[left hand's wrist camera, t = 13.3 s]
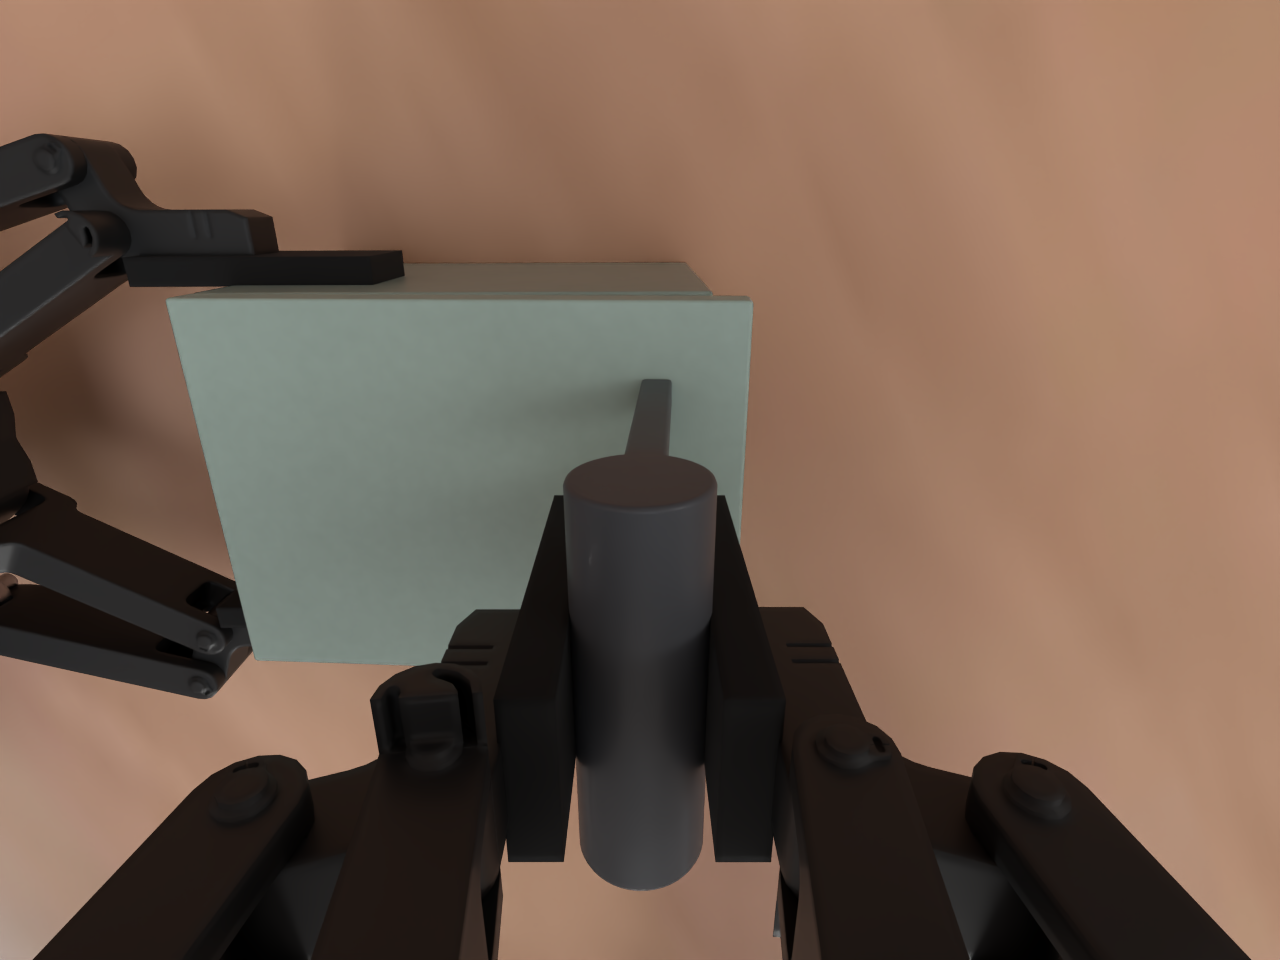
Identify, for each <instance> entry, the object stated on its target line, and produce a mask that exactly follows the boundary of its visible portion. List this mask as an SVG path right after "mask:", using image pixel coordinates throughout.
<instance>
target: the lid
mask: <svg viewBox="0 0 1280 960" xmlns="http://www.w3.org/2000/svg"><path fill="white" fill-rule="evenodd" d="M166 305H167V309H168V313H169V317H170V321H171V325H172V329H173V333H174V337H175V341H176V345H177V349H178V353H179V357H180V361H181V365H182V369H183V373H184V377H185V381H186V385H187V389H188V393H189V397H190V401H191V405H192V409H193V413H194V417H195V421H196V425H197V429H198V433H199V437H200V441H201V445H202V449H203V453H204V457H205V461H206V465H207V469H208V473H209V477H210V481H211V485H212V489H213V493H214V497H215V501H216V505H217V509H218V513H219V517H220V521H221V525H222V529H223V533H224V537H225V541H226V545H227V549H228V553H229V557H230V561H231V565H232V569H233V573H234V577H235V581H236V585H237V589H238V593H239V597H240V601H241V605H242V609H243V613H244V617H245V621H246V625H247V629H248V633H249V637H250V641H251V645H252V649H253V653H254V657H255V659H256V660H262V661H292V662H321V663H351V664H380V665H410V666H420V665H425V664H431V663H441V660H442V658H443V656H444V653H445V651H446V649H448V644H449V642H450V640H451V637H452V635H453V633H454V631H455V628H456V626H457V625H458V624H459V623H461V622H462V621H463V620H464V619H465V618H466V617H468V616H469V615H470V614H471V613H472V612H473V611H474V610H476V609H520V608H521V605H522V601H523V598H524V595H525V591H526V588H527V585H528V581H529V578H530V575H531V571H532V568H533V565H534V561H535V558H536V555H537V551H538V548H539V545H540V541H541V538H542V535H543V531H544V528H545V525H546V521H547V518H548V515H549V511H550V508H551V505H552V501H553V498H554V495H563V497H564V518H565V539H566V560H567V581H568V602H569V614H570V635H571V657H572V679H573V701H574V723H575V745H576V770H577V791H578V812H579V833H580V845H581V850H582V853H583V855H584V858H585V859H586V861H587V863H588V864H589V866H590V867H591V868H592V869H593V871H594V872H595V873H596V874H597V875H598V876H600V877H601V878H602V879H604V880H605V881H607V882H609V883H610V884H612V885H615V886H617V887H620V888H624V889H628V890H635V891H648V890H655V889H659V888H663V887H665V886H668V885H670V884H672V883H674V882H676V881H678V880H679V879H680V878H682V877H683V876H684V875H685V874H686V873H687V872H688V871H689V870H690V869H691V868H692V866H693V865H694V864H695V862H696V860H697V859H698V857H699V854H700V852H701V849H702V844H703V824H704V800H705V776H706V775H705V766H704V754H705V731H706V707H707V684H708V661H709V637H710V618H711V615H712V606H713V582H714V558H715V533H716V509H717V495H725V497H726V501H727V504H728V507H729V511H730V514H731V517H732V521H733V524H734V527H735V531H736V534H737V537H738V541H739V544H740V534H741V516H742V498H743V481H744V463H745V445H746V427H747V409H748V391H749V374H750V356H751V338H752V320H753V302H752V300H751V299H750V297H748V296H659V295H390V294H188V295H182V296H176V297H170V298H168V299H166Z"/></svg>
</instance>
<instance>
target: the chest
mask: <svg viewBox="0 0 1280 960" xmlns="http://www.w3.org/2000/svg"><path fill="white" fill-rule="evenodd" d="M403 264H404V272H405V276H403V277H399V278H396V279H392V280H389V281H385V282H382V283H378V284H375V285H237V286H228V287H223V288H218V289H212V290H207V291H202V292H197V293H194V294H390V295H659V296H713V293H712V291H711V290H710V289H709V288H708V287H707V286H706V285H705V284H704V283H703V281H702V280H701V279H700V278H699V277H698V276H697V275H696V274H695V273H694V271H693V270H692V269H691V268H690V267H689V266H688V265H687V264H686V263H685V262H677V263H403Z"/></svg>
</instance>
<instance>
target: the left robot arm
mask: <svg viewBox="0 0 1280 960" xmlns="http://www.w3.org/2000/svg"><path fill="white" fill-rule="evenodd" d="M370 703H371V709H372V715H373V721H374V726H375V732H376V738H377V744H378V749H379V757H378V759H377V760H375V761H373V762H371V763H369V764H366V765H364V766H360V767H357V768H354V769H351V770H348V771H344V772H340V773H335V774H331V775H327V776H323V777H319V778H315V779H310V780H308V777H307V772H306V770H305V769H304V767H303V766H302V765H301V764H300V763H299V762H298V761H297V760H295V759H292V758H289V757H285V756H282V755H266V756H256V757H253V758H249V759H246V760H242V761H239V762H235V763H233V764H231V765H229V766H228V767H226V768H224V769H222V770H220V771H218V772H216V773H214V774H212V775H211V776H210V777H208V778H207V779H206V780H205V781H204V782H202V783H201V784H200V785H199V786H197V787H196V788H195V789H194V790H193V791H192V792H191V793H190V794H189V795H188V796H187V797H186V798H185V799H184V800H183V801H182V802H181V803H180V804H179V805H178V806H177V808H176V809H175V810H174V811H173V812H172V813H171V814H170V815H169V816H168V817H167V818H166V819H165V820H164V821H163V822H162V823H161V824H160V826H159V827H158V828H157V829H156V830H155V831H154V832H153V833H152V834H151V835H150V836H149V837H148V838H147V839H146V840H145V841H144V842H143V844H142V845H141V846H140V847H139V848H138V849H137V850H136V851H135V852H134V853H133V854H132V855H131V856H130V857H129V858H128V859H127V860H126V862H125V863H124V864H123V865H122V866H121V867H120V868H119V869H118V870H117V871H116V872H115V873H114V874H113V875H112V876H111V877H110V878H109V880H108V881H107V882H106V883H105V884H104V885H103V886H102V887H101V888H100V889H99V890H98V891H97V892H96V893H95V894H94V895H93V896H92V897H91V899H90V900H89V901H88V902H87V903H86V904H85V905H84V906H83V907H82V908H81V909H80V910H79V911H78V912H77V913H76V914H75V915H74V917H73V918H72V919H71V920H70V921H69V922H68V923H67V924H66V925H65V926H64V927H63V928H62V929H61V930H60V931H59V932H58V933H57V935H56V936H55V937H54V938H53V939H52V940H51V941H50V942H49V943H48V944H47V945H46V946H45V947H44V948H43V949H42V950H41V951H40V953H39V954H38V955H37V956H36V957H35V958H34V959H33V960H498V949H499V937H500V925H501V913H502V901H503V891H502V882H501V872H500V864H501V860H502V855H503V850H504V846H505V841H507V852H508V862H564V855H565V846H566V838H567V829H568V820H569V812H570V803H571V794H572V786H573V777H574V769H575V760H576V745H575V723H574V701H573V679H572V657H571V635H570V614H569V602H568V581H567V560H566V539H565V518H564V497H563V495H554V498H553V501H552V505H551V508H550V511H549V515H548V518H547V521H546V525H545V528H544V531H543V535H542V538H541V541H540V545H539V548H538V551H537V555H536V558H535V561H534V565H533V568H532V571H531V575H530V578H529V581H528V585H527V588H526V591H525V595H524V598H523V601H522V605H521V608H520V609H476V610H474V611H473V612H472V613H471V614H470V615H469V616H468V617H466V618H465V619H464V620H463V621H462V622H461V623H459V624H458V625H457V626H456V628H455V631H454V633H453V635H452V637H451V640H450V642H449V644H448V649H446V651H445V653H444V656H443V658H442V660H441V663H431V664H425V665H420V666H414V667H412V668H410V669H407V670H405V671H402V672H400V673H397V674H395V675H394V676H392V677H391V678H390V679H388V680H387V681H385V682H384V683H383V684H381V685H380V686H379V687H378V689H377V690H376V692H375V693H374V694H373V696H372V697H371V699H370ZM704 766H705V775H706V783H707V792H708V801H709V809H710V818H711V826H712V835H713V844H714V852H715V861H716V862H771V855H772V845H773V836H774V841H775V846H776V850H777V855H778V860H779V864H780V872H779V882H778V891H777V901H776V911H775V921H774V931H773V937H781V947H782V959H783V960H1251V959H1250V958H1249V957H1248V956H1247V955H1246V954H1245V953H1244V952H1243V951H1242V949H1241V948H1240V947H1239V946H1238V945H1237V944H1236V943H1235V942H1234V941H1233V940H1232V939H1231V938H1230V937H1229V936H1228V935H1227V934H1226V933H1225V932H1224V931H1223V930H1222V928H1221V927H1220V926H1219V925H1218V924H1217V923H1216V922H1215V921H1214V920H1213V919H1212V918H1211V917H1210V916H1209V915H1208V914H1207V913H1206V912H1205V911H1204V910H1203V908H1202V907H1201V906H1200V905H1199V904H1198V903H1197V902H1196V901H1195V900H1194V899H1193V898H1192V897H1191V896H1190V895H1189V894H1188V893H1187V892H1186V891H1185V890H1184V889H1183V887H1182V886H1181V885H1180V884H1179V883H1178V882H1177V881H1176V880H1175V879H1174V878H1173V877H1172V876H1171V875H1170V874H1169V873H1168V872H1167V871H1166V870H1165V869H1164V867H1163V866H1162V865H1161V864H1160V863H1159V862H1158V861H1157V860H1156V859H1155V858H1154V857H1153V856H1152V855H1151V854H1150V853H1149V852H1148V851H1147V850H1146V849H1145V847H1144V846H1143V845H1142V844H1141V843H1140V842H1139V841H1138V840H1137V839H1136V838H1135V837H1134V836H1133V835H1132V834H1131V833H1130V832H1129V831H1128V830H1127V829H1126V828H1125V826H1124V825H1123V824H1122V823H1121V822H1120V821H1119V820H1118V819H1117V818H1116V817H1115V816H1114V815H1113V814H1112V813H1111V812H1110V811H1109V810H1108V809H1107V808H1106V806H1105V805H1104V804H1103V803H1102V802H1101V801H1100V800H1099V799H1098V798H1097V797H1096V796H1095V795H1094V794H1093V793H1092V792H1091V791H1090V790H1089V789H1088V788H1087V787H1086V786H1085V785H1084V784H1083V783H1081V782H1080V781H1079V780H1078V779H1076V778H1075V777H1074V776H1073V775H1072V774H1070V773H1069V772H1068V771H1066V770H1064V769H1062V768H1060V767H1058V766H1056V765H1054V764H1052V763H1050V762H1048V761H1046V760H1044V759H1041V758H1037V757H1034V756H1030V755H1027V754H1023V753H1011V752H998V753H995V754H991V755H988V756H985V757H983V758H982V759H981V760H980V761H979V762H978V763H977V764H976V766H975V767H974V769H973V773H972V777H968V776H964V775H960V774H955V773H951V772H947V771H943V770H939V769H935V768H931V767H927V766H924V765H921V764H918V763H915V762H912V761H910V760H908V759H906V758H904V757H902V756H901V753H900V751H899V750H898V748H897V746H896V745H895V743H894V741H893V740H892V738H890V737H889V736H888V735H887V734H885V733H884V732H883V731H882V730H881V729H879V728H878V727H877V726H875V725H873V724H871V723H868V722H866V720H865V717H864V715H863V713H862V711H861V708H860V706H859V704H858V702H857V699H856V697H855V695H854V693H853V690H852V688H851V686H850V684H849V681H848V679H847V677H846V675H845V672H844V670H843V668H842V666H841V663H839V659H838V657H837V654H836V652H835V650H834V648H833V647H832V645H831V641H830V639H829V636H828V634H827V632H826V630H825V627H824V625H823V624H822V623H821V622H820V621H819V620H818V619H817V618H816V617H814V616H813V615H812V614H811V613H810V612H809V611H807V610H806V609H805V608H804V607H758V604H757V601H756V597H755V594H754V591H753V587H752V584H751V581H750V577H749V574H748V571H747V567H746V564H745V561H744V557H743V554H742V551H741V547H740V544H739V541H738V537H737V534H736V531H735V527H734V524H733V521H732V517H731V514H730V511H729V507H728V504H727V501H726V497H725V495H717V509H716V533H715V558H714V582H713V606H712V615H711V618H710V637H709V661H708V684H707V707H706V731H705V754H704Z"/></svg>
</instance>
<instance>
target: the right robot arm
mask: <svg viewBox="0 0 1280 960" xmlns="http://www.w3.org/2000/svg"><path fill="white" fill-rule="evenodd" d="M136 173H137V167H136V164H135V161H134V158H133V157H132V156H131V154H130V153H129V151H128V150H127V149H125V148H124V147H123V146H121V145H120V144H116V143H113V142H108V141H100V140H92V139H84V138H76V137H68V136H59V135H51V134H34V135H31V136H28V137H26V138H23V139H20V140H17V141H15V142H12V143H9V144H6V145H4V146H1V147H0V231H2V230H5V229H8V228H11V227H14V226H17V225H20V224H22V223H25V222H28V221H31V220H34V219H37V218H40V217H42V216H45V215H48V214H51V213H54V212H57V211H60V210H62V209H65V208H69V210H70V211H60V212H58V213H55V215H56V217H57V218H68V221H67V222H65V223H64V224H63V225H61V226H60V227H59V228H57V229H56V230H55V231H53V232H52V233H51V234H49V235H48V236H47V237H45V238H44V239H43V240H41V241H40V242H39V243H37V244H36V245H35V246H33V247H32V248H31V249H30V250H28V251H27V252H26V253H24V254H23V255H22V256H20V257H19V258H18V259H16V260H15V261H14V262H12V263H11V264H10V265H8V266H7V267H6V268H4V269H3V270H2V271H0V377H2V376H3V375H4V374H6V373H7V372H9V371H10V370H11V369H13V368H14V367H16V366H17V365H18V364H20V363H21V362H23V361H24V360H25V359H26V358H27V357H28V355H27V354H26V353H27V352H28V351H29V350H31V349H32V348H33V347H35V346H36V345H38V344H39V343H40V342H42V341H43V340H45V339H46V338H47V337H49V336H50V335H52V334H53V333H54V332H56V331H57V330H59V329H60V328H61V327H63V326H64V325H66V324H67V323H68V322H70V321H71V320H72V319H74V318H75V317H77V316H78V315H79V314H81V313H82V312H84V311H85V310H86V309H88V308H89V307H91V306H92V305H93V304H95V303H96V302H98V301H99V300H100V299H102V298H103V297H104V296H106V295H107V294H109V293H110V292H111V291H113V290H114V289H116V288H117V287H118V286H120V285H121V284H123V283H124V282H125V281H127V280H128V281H129V285H130V287H210V286H237V285H375V284H378V283H382V282H385V281H389V280H392V279H396V278H399V277H403V276H405V272H404V264H403V256H402V250H390V251H279V249H278V244H277V239H276V233H275V228H274V223H273V217H271V216H269V215H266V214H264V213H261V212H258V211H256V210H169V209H164V208H161V207H158V206H157V205H155V204H153V203H152V202H151V201H150V200H149V199H147V198H146V197H145V195H144V194H143V193H142V191H141V190H140V188H139V186H138V185H137V183H136V181H135V178H136ZM37 482H38V481H37V478H36V475H35V472H34V469H33V467H32V464H31V461H30V459H29V458H28V456H27V454H26V453H25V451H24V450H23V448H22V447H21V445H20V443H19V442H18V440H17V438H16V432H15V418H14V412H13V409H12V407H11V404H10V401H9V398H8V395H7V392H6V391H0V573H4V572H6V573H4V574H2V575H0V655H2V656H6V657H11V658H15V659H20V660H25V661H29V662H34V663H38V664H43V665H47V666H52V667H57V668H61V669H66V670H70V671H75V672H79V673H84V674H89V675H93V676H98V677H102V678H107V679H111V680H116V681H120V682H125V683H130V684H134V685H139V686H143V687H148V688H152V689H157V690H162V691H166V692H171V693H175V694H180V695H184V696H189V697H194V698H198V699H207V698H211V697H213V696H214V695H215V694H216V693H217V692H218V691H219V689H220V688H221V687H222V686H223V685H224V684H225V683H226V681H227V680H228V679H229V678H230V677H231V676H232V674H233V673H234V672H235V671H236V670H237V669H238V668H239V666H240V665H241V664H242V663H243V662H244V661H245V659H246V658H247V657H248V656H249V655H250V654H251V653H252V651H253V649H252V645H251V641H250V637H249V633H248V629H247V625H246V621H245V617H244V613H243V609H242V605H241V601H240V597H239V593H238V589H237V585H236V582H235V581H233V580H231V579H228V578H226V577H224V576H222V575H220V574H217V573H215V572H213V571H211V570H208V569H206V568H204V567H202V566H199V565H197V564H195V563H193V562H190V561H188V560H186V559H184V558H181V557H179V556H177V555H175V554H172V553H170V552H168V551H166V550H163V549H161V548H159V547H157V546H154V545H152V544H150V543H148V542H146V541H143V540H141V539H139V538H137V537H134V536H132V535H130V534H128V533H125V532H123V531H121V530H119V529H116V528H114V527H112V526H110V525H107V524H105V523H103V522H101V521H98V520H96V519H94V518H92V517H89V516H87V515H85V514H83V513H81V512H79V511H78V510H77V509H76V507H77V503H76V501H75V500H74V499H72V498H71V497H69V496H66V495H64V494H62V493H60V492H58V491H55V490H53V489H51V488H49V487H46V486H44V485H42V484H40V483H37ZM14 514H15V515H17V516H15V517H13V518H11V517H12V516H13V515H14ZM10 518H11V519H10ZM8 519H9V520H8ZM9 573H13V574H16V575H18V576H20V577H23V578H25V579H28V580H30V581H32V582H35V583H37V584H39V585H32V584H18V580H17V578H16V577H15V576H14V575H12V574H9ZM206 612H208V613H206Z"/></svg>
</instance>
